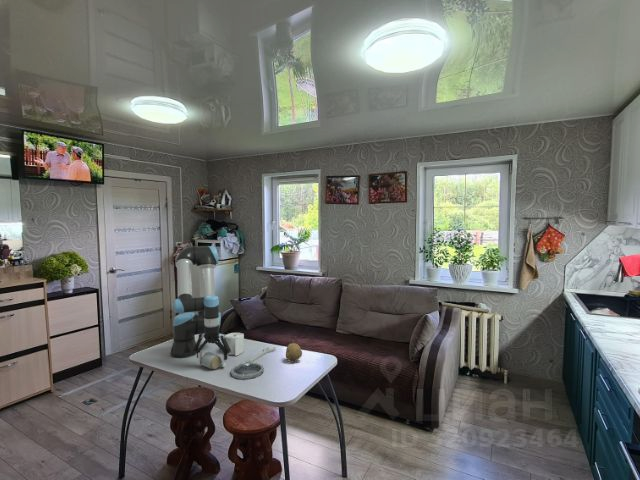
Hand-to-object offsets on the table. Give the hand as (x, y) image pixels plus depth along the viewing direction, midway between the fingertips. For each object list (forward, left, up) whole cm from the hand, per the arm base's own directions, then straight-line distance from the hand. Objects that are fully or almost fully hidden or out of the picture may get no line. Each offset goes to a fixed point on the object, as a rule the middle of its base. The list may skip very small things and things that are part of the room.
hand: (212, 365), depth 178 cm
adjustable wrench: (+19, +20, -2) cm, 28 cm away
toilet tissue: (+3, +23, -2) cm, 23 cm away
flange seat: (+21, -3, -1) cm, 21 cm away
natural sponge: (+41, +15, -1) cm, 44 cm away
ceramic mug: (0, +1, -2) cm, 2 cm away
